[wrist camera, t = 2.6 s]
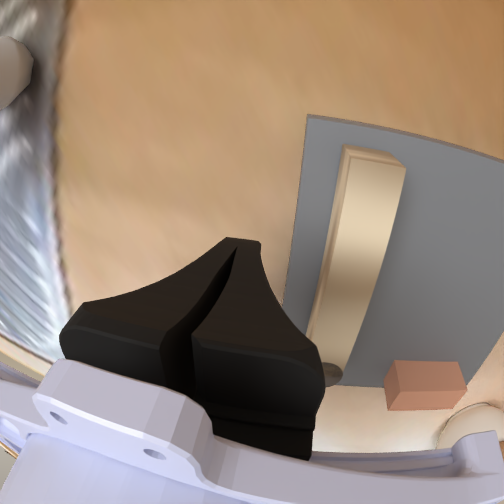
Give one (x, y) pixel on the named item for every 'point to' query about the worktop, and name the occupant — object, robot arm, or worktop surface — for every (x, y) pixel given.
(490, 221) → the stool seat
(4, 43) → the salt shaker
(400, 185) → the stool leg
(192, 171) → the worktop surface
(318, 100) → the worktop surface
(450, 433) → the lidded jar
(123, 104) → the worktop surface
